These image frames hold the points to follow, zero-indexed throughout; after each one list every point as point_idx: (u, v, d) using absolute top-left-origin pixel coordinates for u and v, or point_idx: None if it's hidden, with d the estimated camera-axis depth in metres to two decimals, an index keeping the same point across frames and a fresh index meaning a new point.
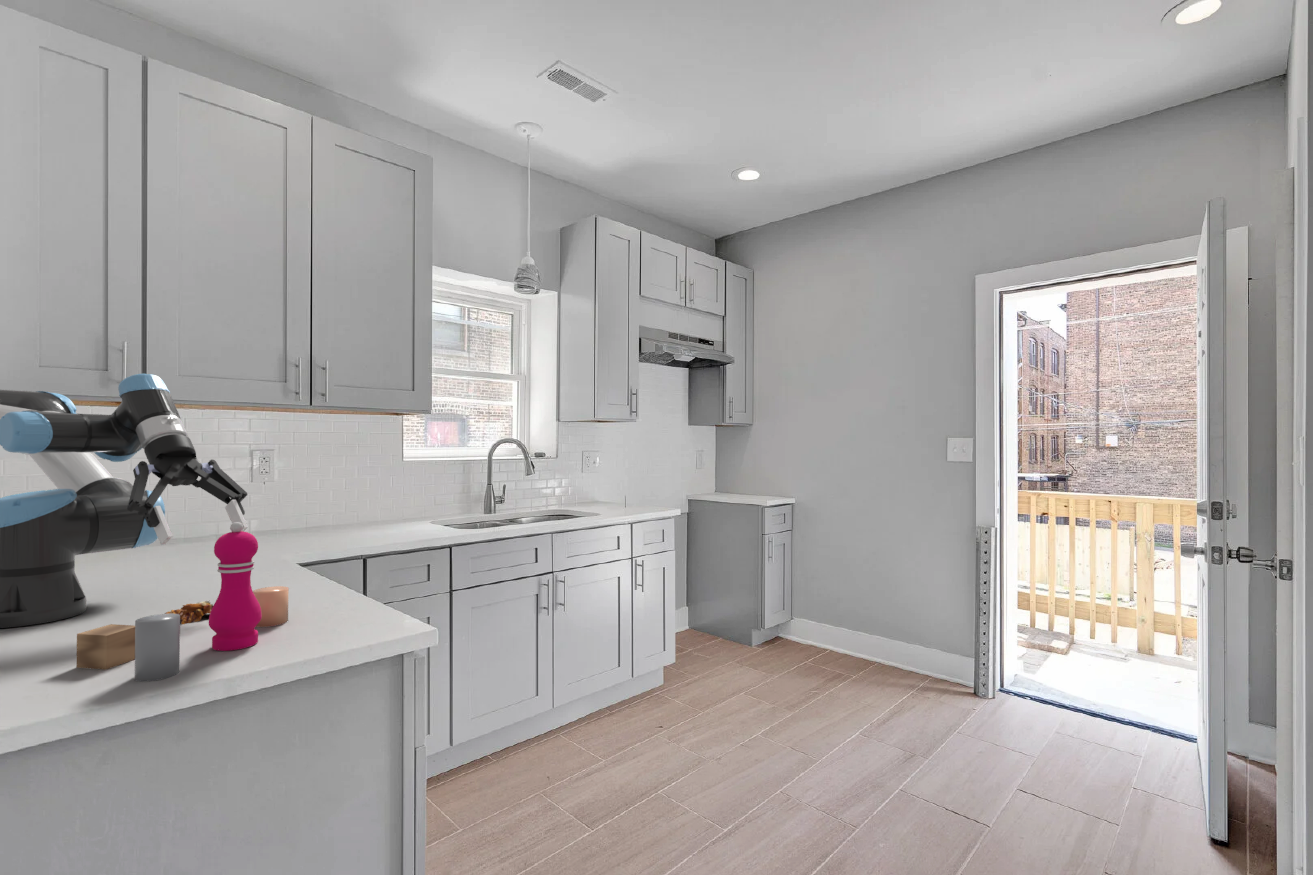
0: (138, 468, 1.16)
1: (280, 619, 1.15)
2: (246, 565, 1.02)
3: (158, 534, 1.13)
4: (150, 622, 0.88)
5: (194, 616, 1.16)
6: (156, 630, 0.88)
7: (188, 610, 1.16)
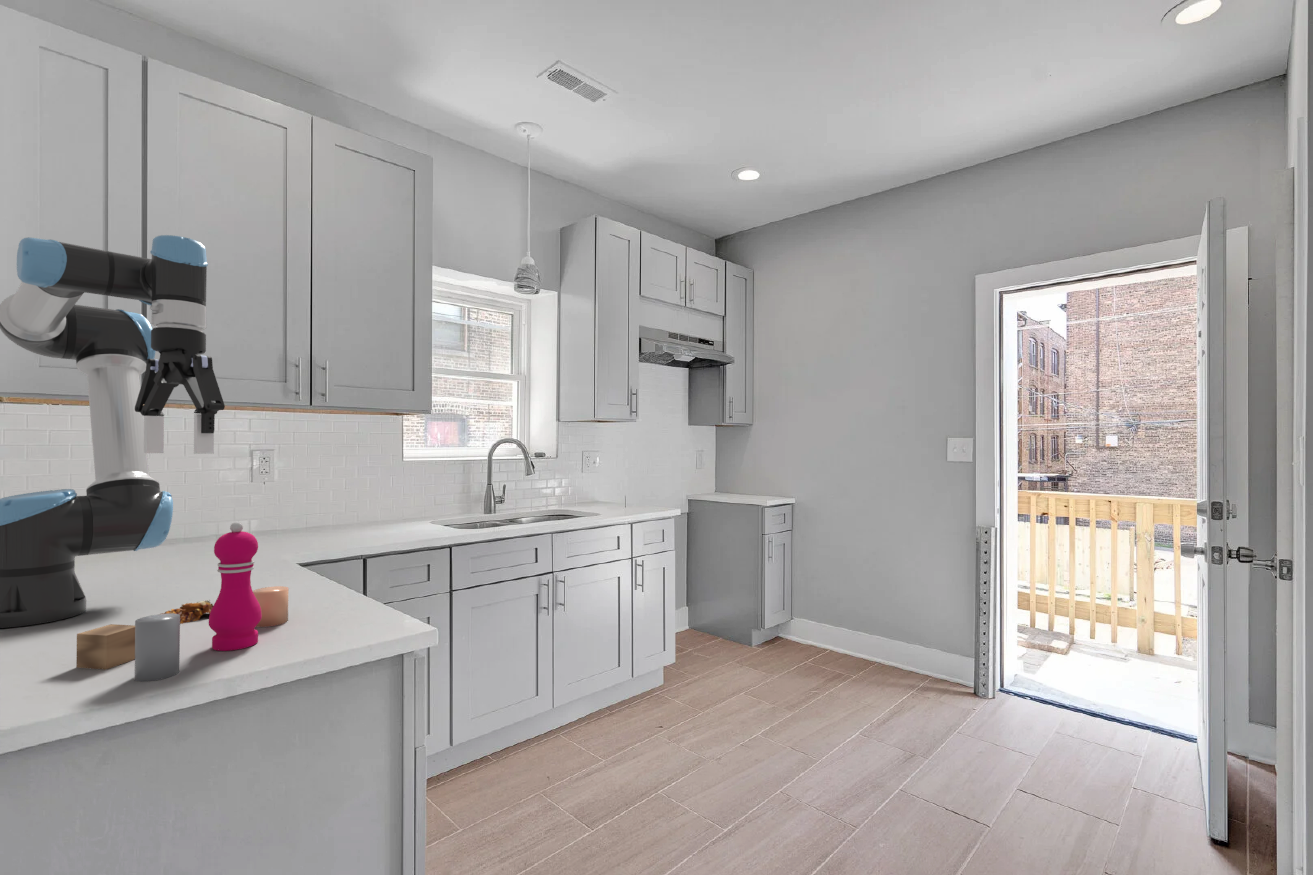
0: None
1: (280, 619, 1.15)
2: (246, 565, 1.02)
3: None
4: (150, 622, 0.88)
5: (193, 616, 1.17)
6: (156, 630, 0.88)
7: (187, 609, 1.17)
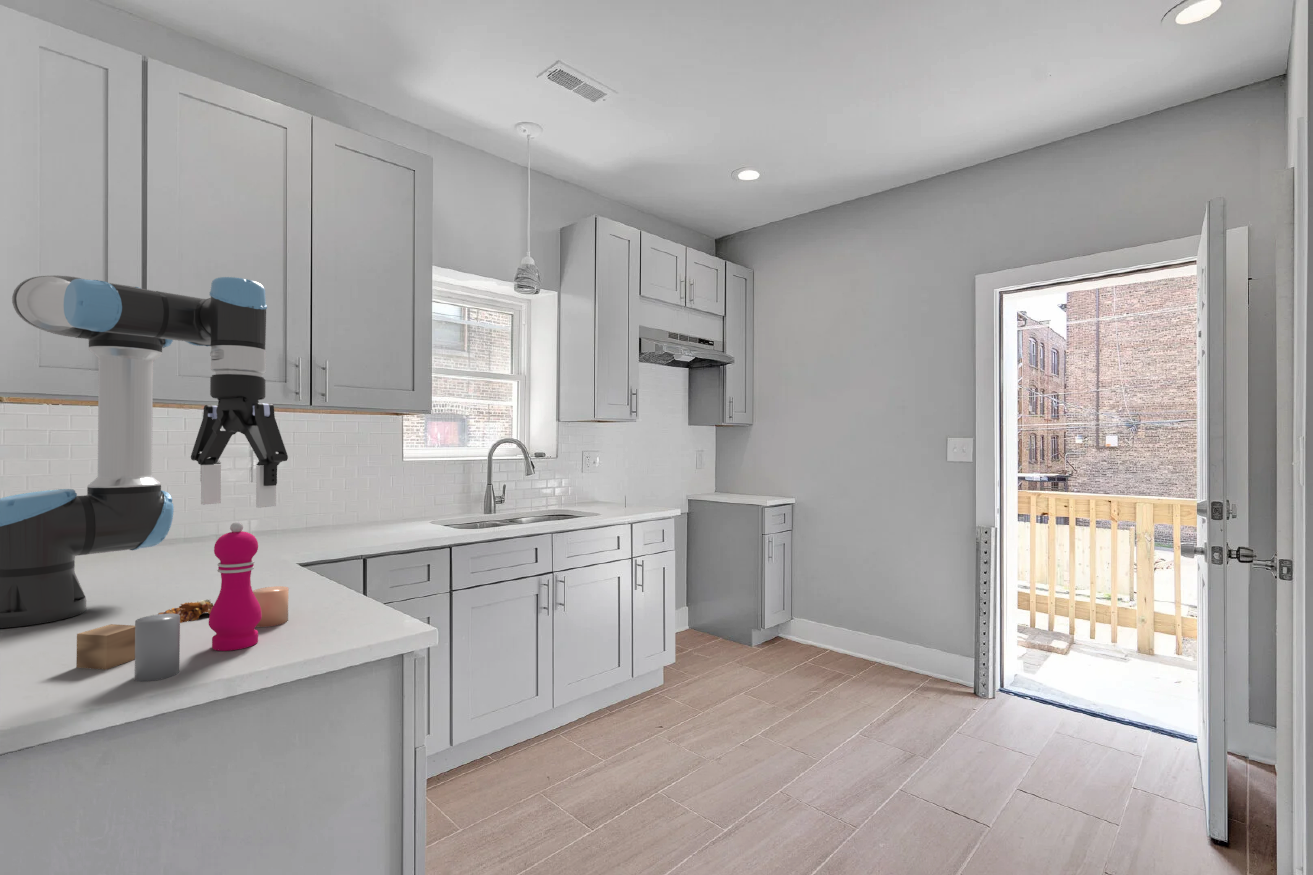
0: None
1: (280, 619, 1.15)
2: (246, 565, 1.02)
3: None
4: (150, 622, 0.88)
5: (192, 615, 1.17)
6: (156, 630, 0.88)
7: (186, 609, 1.17)
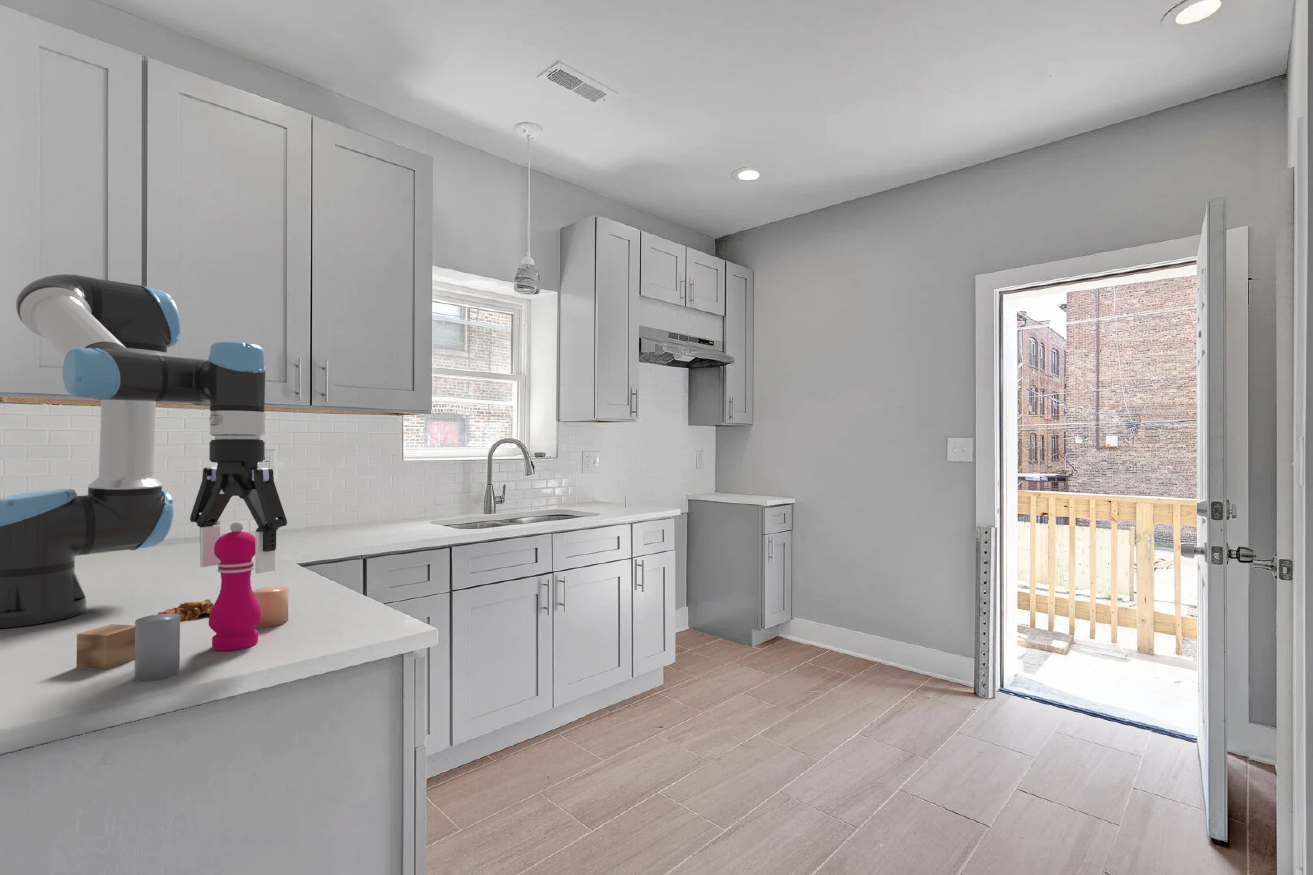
0: None
1: (280, 619, 1.15)
2: (246, 565, 1.02)
3: (213, 553, 1.07)
4: (150, 622, 0.88)
5: (191, 615, 1.18)
6: (156, 630, 0.88)
7: (186, 608, 1.18)
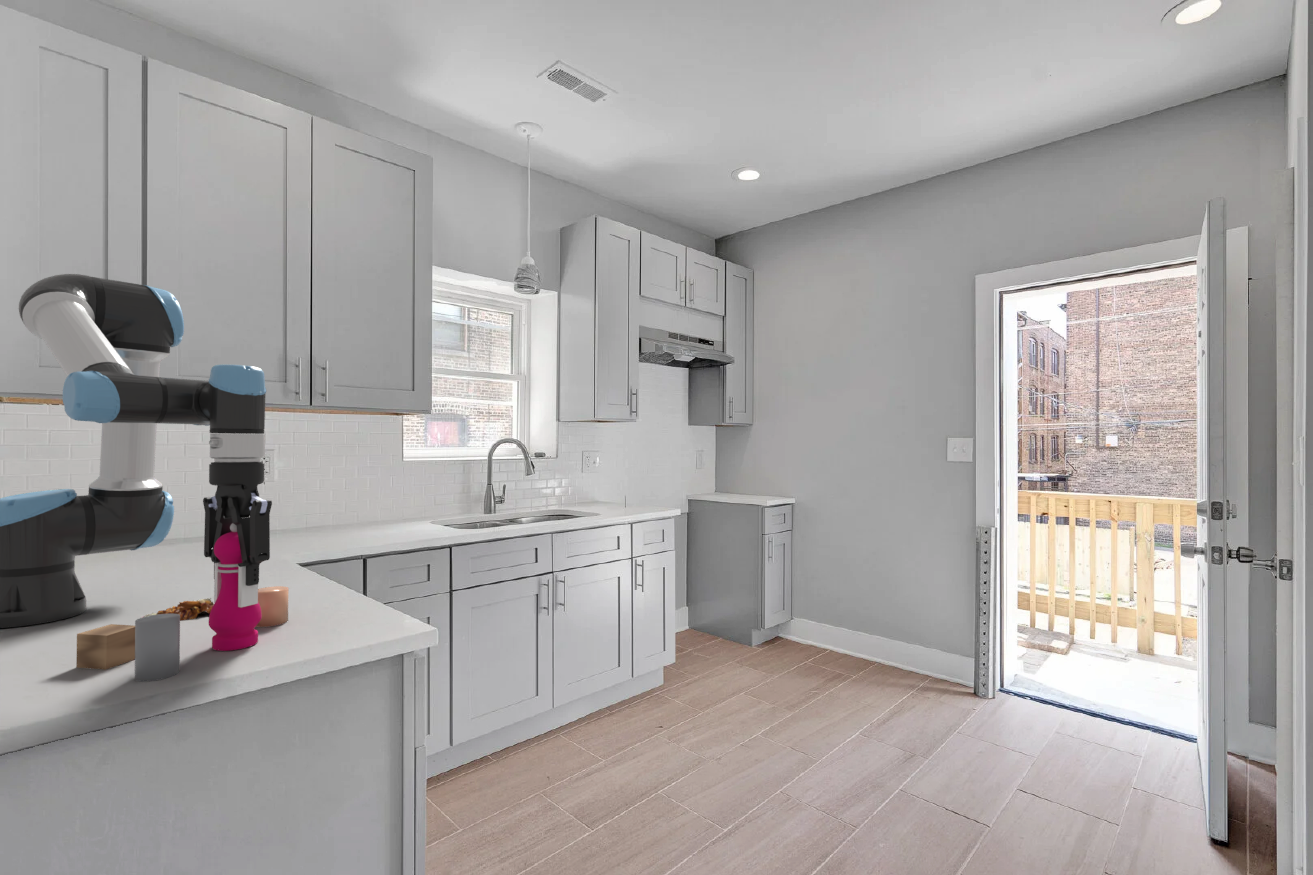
0: None
1: (280, 619, 1.15)
2: None
3: None
4: (150, 622, 0.88)
5: (190, 614, 1.18)
6: (156, 630, 0.88)
7: (185, 607, 1.18)
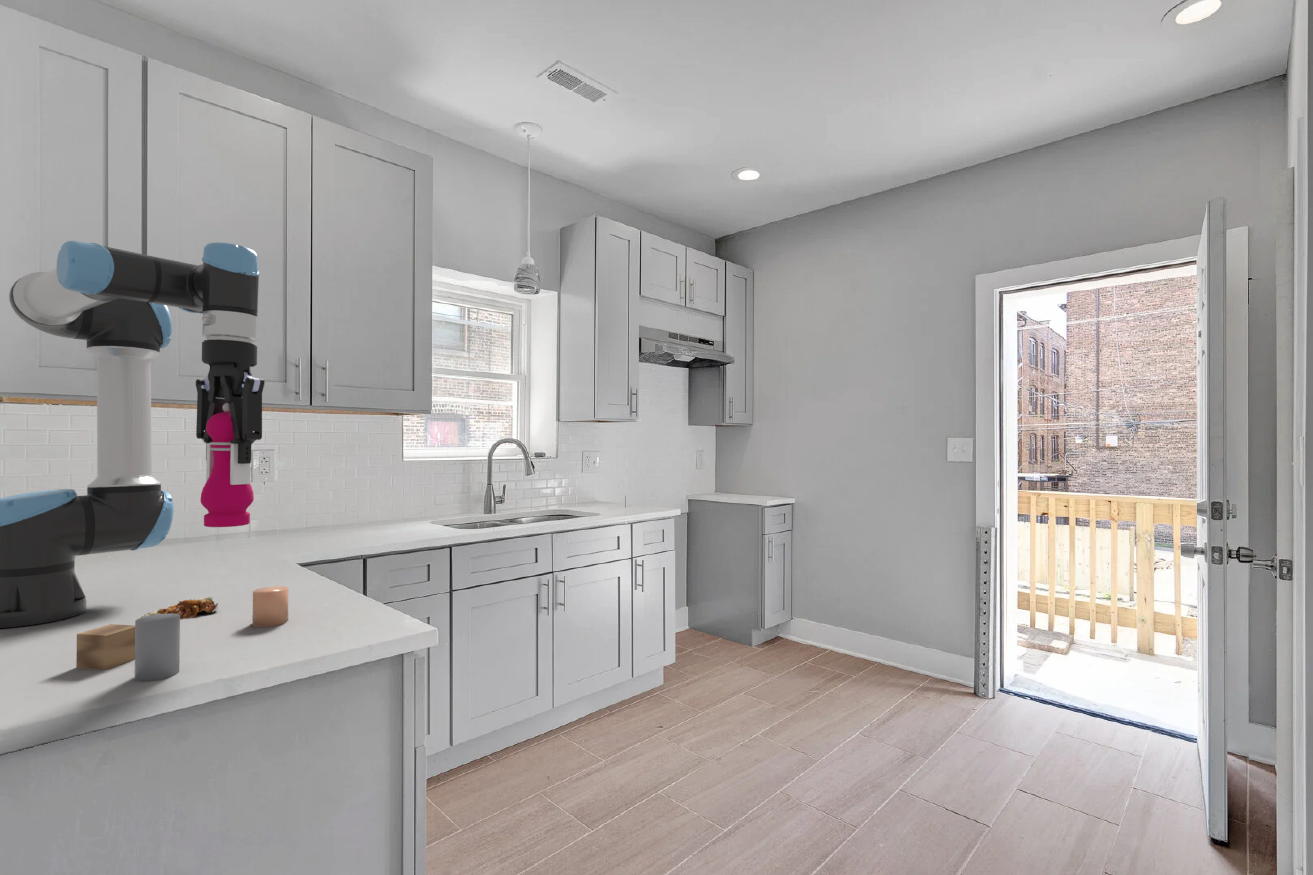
0: None
1: (280, 619, 1.15)
2: None
3: None
4: (150, 622, 0.88)
5: (190, 613, 1.19)
6: (156, 630, 0.88)
7: (185, 606, 1.19)
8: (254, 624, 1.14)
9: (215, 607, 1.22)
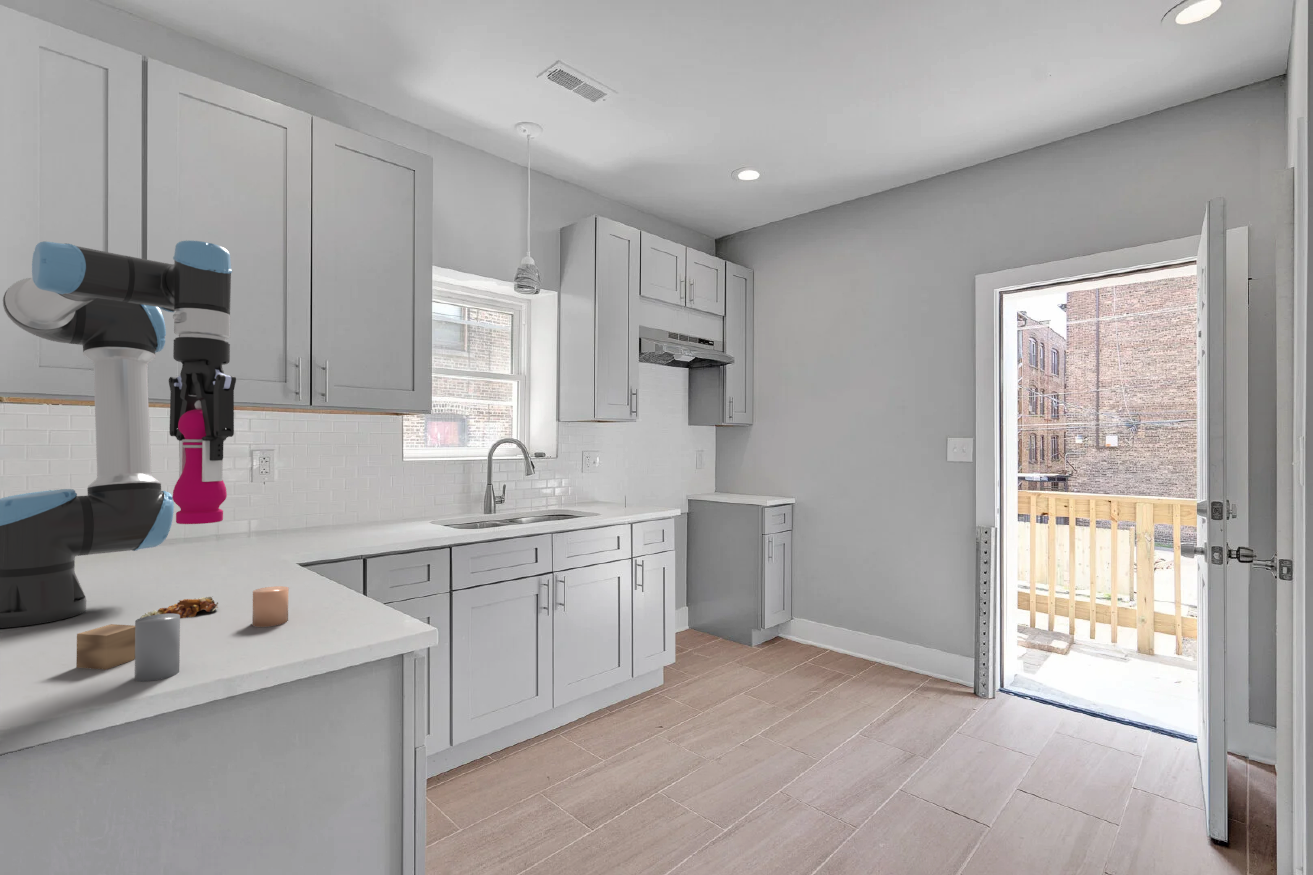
0: None
1: (280, 619, 1.15)
2: None
3: None
4: (150, 622, 0.88)
5: (190, 612, 1.20)
6: (156, 630, 0.88)
7: (185, 605, 1.20)
8: (254, 624, 1.14)
9: (215, 606, 1.22)
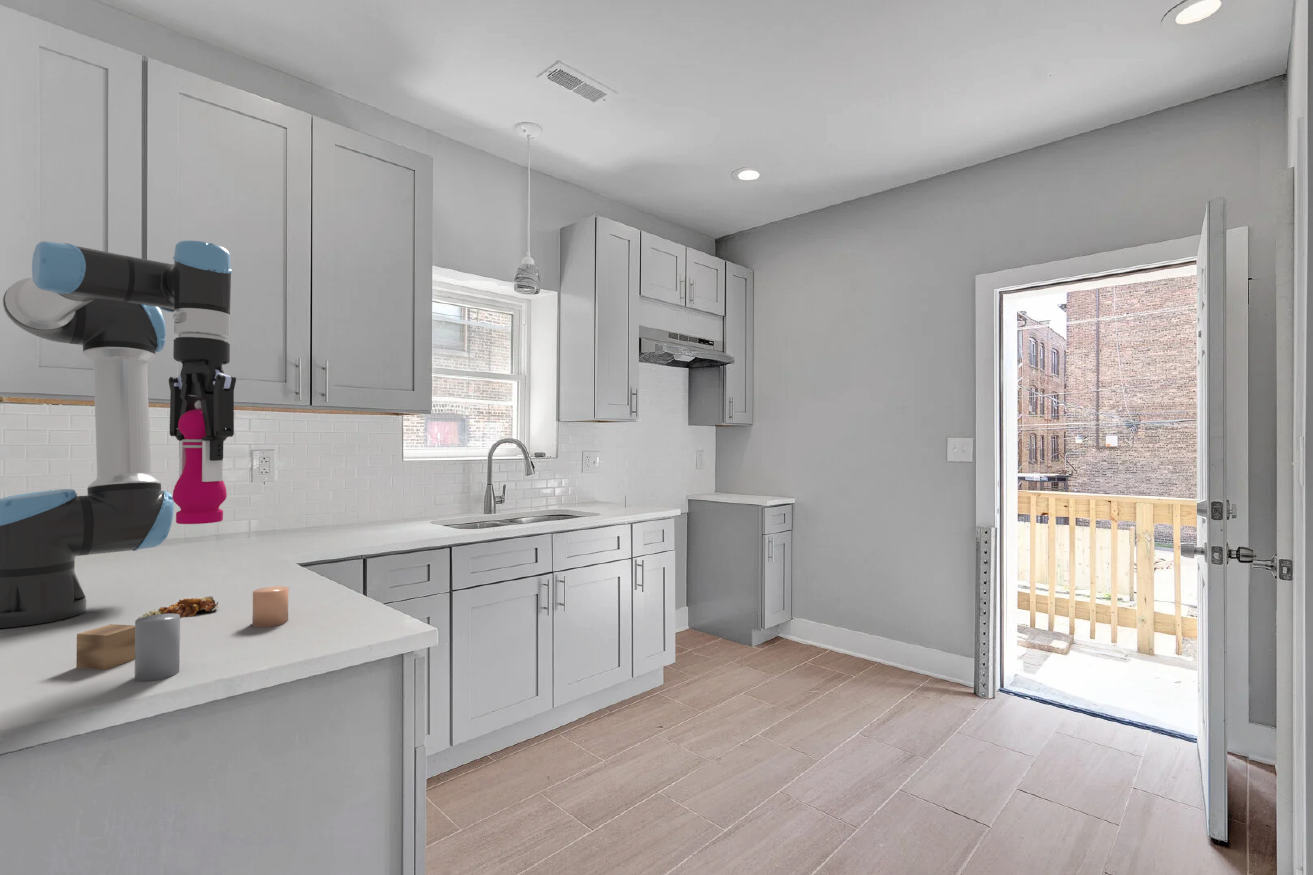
0: None
1: (280, 619, 1.15)
2: None
3: None
4: (150, 622, 0.88)
5: (190, 611, 1.20)
6: (156, 630, 0.88)
7: (185, 605, 1.20)
8: (254, 624, 1.14)
9: (215, 606, 1.23)
